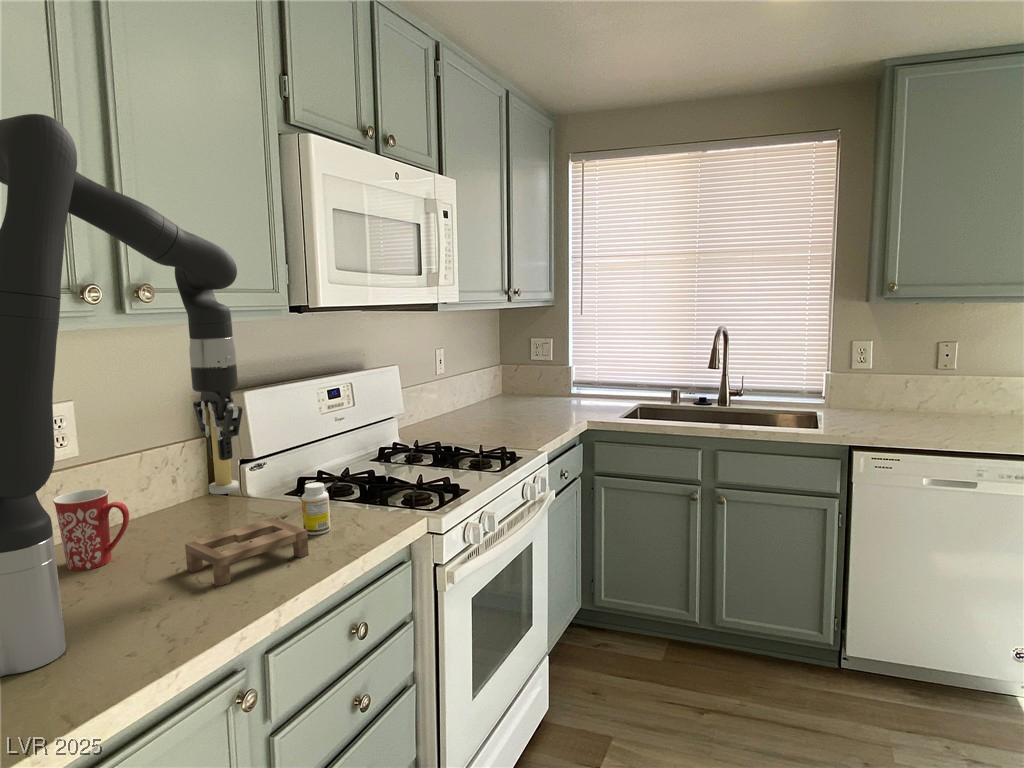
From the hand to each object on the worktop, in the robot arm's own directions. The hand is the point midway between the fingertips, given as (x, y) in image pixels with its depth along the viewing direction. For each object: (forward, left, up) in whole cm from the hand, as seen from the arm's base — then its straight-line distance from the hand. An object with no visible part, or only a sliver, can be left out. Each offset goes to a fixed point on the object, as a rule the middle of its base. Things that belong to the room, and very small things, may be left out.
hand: (221, 457), depth 126 cm
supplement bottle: (+22, +4, -21) cm, 31 cm away
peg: (0, 0, -6) cm, 6 cm away
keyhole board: (+4, 0, -21) cm, 22 cm away
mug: (-14, +23, -21) cm, 35 cm away
